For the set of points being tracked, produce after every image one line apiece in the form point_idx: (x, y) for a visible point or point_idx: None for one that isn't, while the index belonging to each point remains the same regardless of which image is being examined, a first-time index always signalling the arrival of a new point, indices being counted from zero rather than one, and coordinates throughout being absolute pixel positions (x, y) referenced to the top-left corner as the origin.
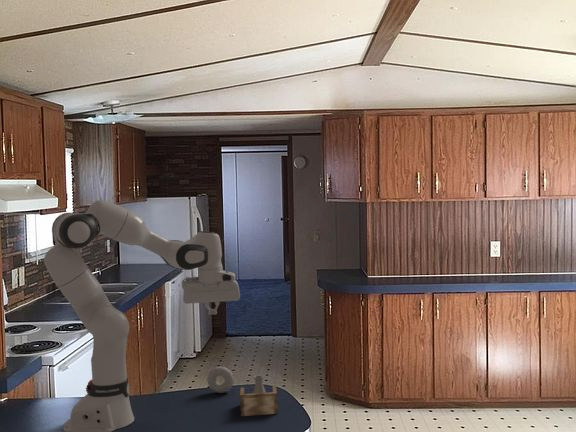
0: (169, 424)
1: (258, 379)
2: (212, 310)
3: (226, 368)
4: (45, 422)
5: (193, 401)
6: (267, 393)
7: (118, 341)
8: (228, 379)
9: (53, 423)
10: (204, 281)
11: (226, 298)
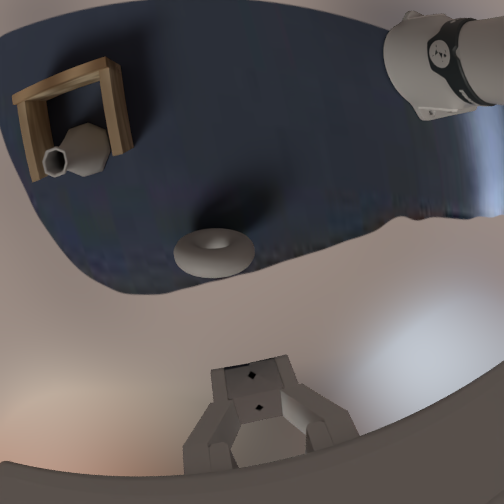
0: (299, 21)
1: (54, 147)
2: (254, 389)
3: (193, 267)
4: None
5: (274, 171)
6: (32, 86)
7: None
8: (185, 242)
9: None
10: None
11: (81, 500)
